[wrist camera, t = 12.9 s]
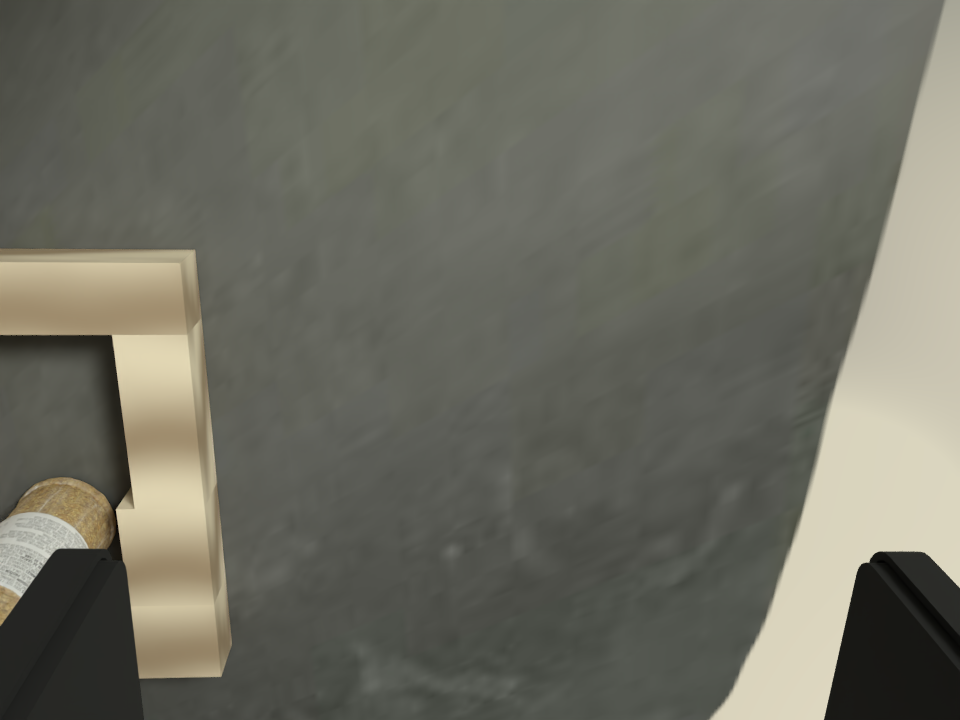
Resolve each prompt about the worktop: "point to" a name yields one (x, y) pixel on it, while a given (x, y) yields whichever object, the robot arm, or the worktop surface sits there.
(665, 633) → the worktop surface
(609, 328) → the worktop surface
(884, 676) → the robot arm
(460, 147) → the worktop surface
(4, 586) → the spice jar
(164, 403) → the keyhole board
